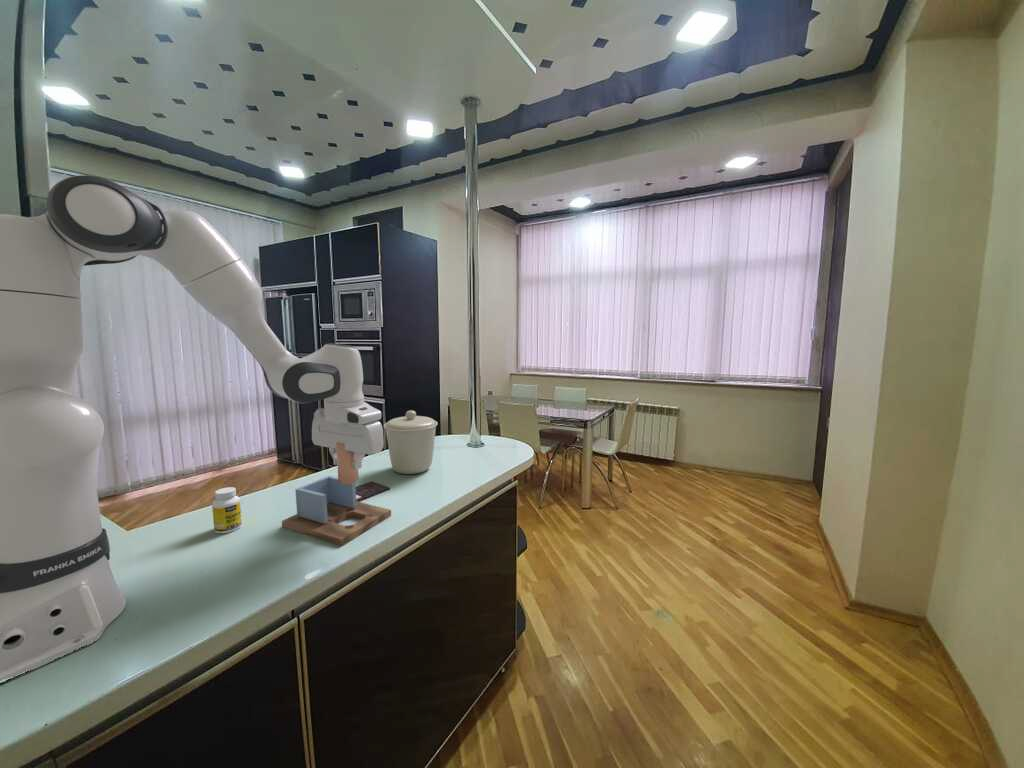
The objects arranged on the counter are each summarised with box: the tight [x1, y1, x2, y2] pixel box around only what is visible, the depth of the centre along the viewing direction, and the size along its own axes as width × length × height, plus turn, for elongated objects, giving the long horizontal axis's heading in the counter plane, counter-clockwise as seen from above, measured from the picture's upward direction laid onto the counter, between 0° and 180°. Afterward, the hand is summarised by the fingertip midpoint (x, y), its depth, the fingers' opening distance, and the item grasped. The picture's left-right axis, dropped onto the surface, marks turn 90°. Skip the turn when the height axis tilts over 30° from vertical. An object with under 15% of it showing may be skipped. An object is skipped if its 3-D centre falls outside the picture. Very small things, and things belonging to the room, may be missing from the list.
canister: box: [383, 409, 438, 475], centre depth 133 cm, size 18×18×21 cm
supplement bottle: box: [211, 486, 243, 534], centre depth 93 cm, size 5×5×10 cm
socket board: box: [281, 501, 392, 547], centre depth 97 cm, size 16×20×2 cm
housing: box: [295, 475, 357, 524], centre depth 98 cm, size 10×10×7 cm
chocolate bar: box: [355, 481, 391, 502], centre depth 113 cm, size 9×1×18 cm
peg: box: [336, 442, 360, 484], centre depth 94 cm, size 5×5×10 cm
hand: (347, 466), depth 94 cm, fingers closed on peg, 5 cm apart
